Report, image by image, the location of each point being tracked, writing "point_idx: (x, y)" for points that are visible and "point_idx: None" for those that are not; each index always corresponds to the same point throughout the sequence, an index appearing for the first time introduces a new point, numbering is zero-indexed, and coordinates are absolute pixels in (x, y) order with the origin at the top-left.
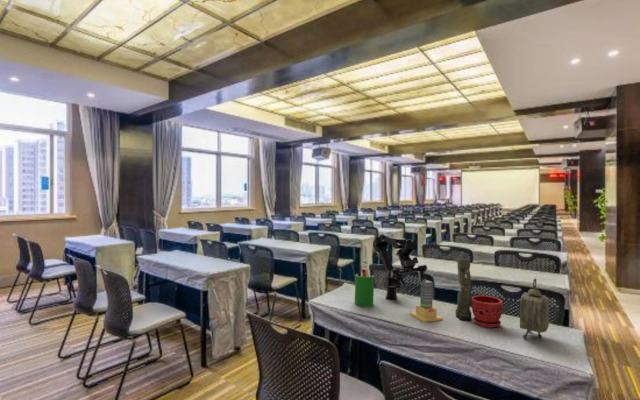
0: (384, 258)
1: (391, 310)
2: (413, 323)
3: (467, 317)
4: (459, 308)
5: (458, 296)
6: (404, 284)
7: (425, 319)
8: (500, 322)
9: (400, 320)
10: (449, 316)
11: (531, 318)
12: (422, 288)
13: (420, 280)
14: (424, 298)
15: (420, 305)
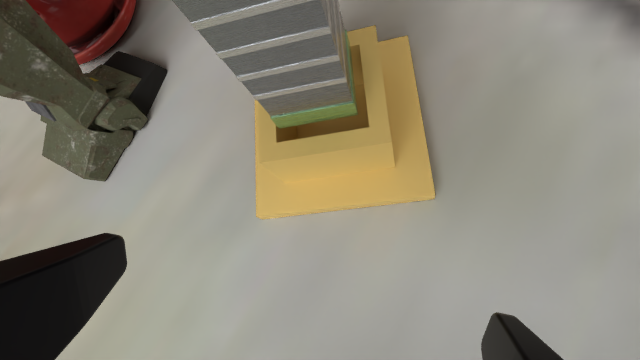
0: None
1: (588, 338)
2: (494, 21)
3: (120, 62)
4: (92, 83)
5: (2, 32)
6: (537, 354)
7: (387, 42)
8: None
9: (582, 75)
10: (179, 133)
11: None
12: None
13: (25, 342)
14: (335, 1)
15: (348, 135)
